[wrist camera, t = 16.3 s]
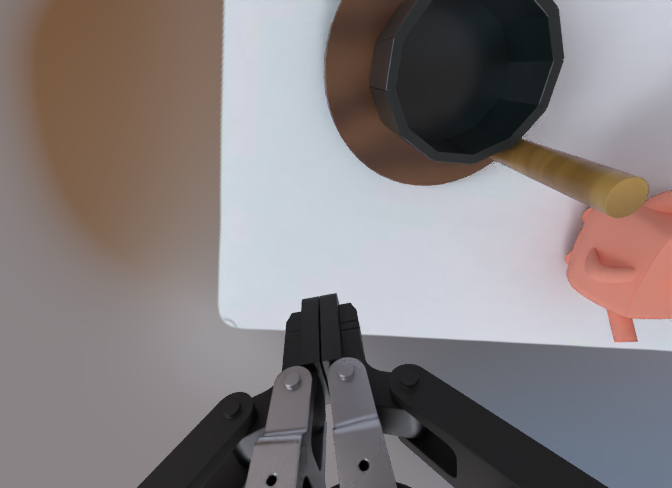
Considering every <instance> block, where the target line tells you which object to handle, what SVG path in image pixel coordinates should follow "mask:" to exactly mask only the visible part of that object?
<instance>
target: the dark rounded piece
mask: <svg viewBox="0 0 672 488" xmlns="http://www.w3.org/2000/svg"><path fill="white" fill-rule="evenodd" d="M557 7H558V6H557V5H556V4H555V3H554V2H553V0H342V1H341V3H340V5H339V7H338V9H337V11H336V14H335V16H334V19H333V22H332V24H331V27H330V31H329V35H328V39H327V43H326V50H325V58H324V84H325V93H326V98H327V102H328V107H329V110H330V113H331V116H332V119H333V121H334V124H335V126H336V128H337V130H338V132H339V134H340V135H341V137H342V139H343V140H344V142H345V143H346V145H347V146H348V147H349V149H350V150H351V151H352V152H353V153H354V155H355V156H356V157H357V158H358V159H359V160H360V161H361V162H363V163H364V164H365V165H366V166H367V167H368V168H370V169H371V170H373V171H375V172H376V173H378V174H379V175H381V176H384V177H386V178H388V179H390V180H393V181H397V182H400V183H404V184H410V185H421V186H430V185H439V184H445V183H449V182H453V181H456V180H459V179H462V178H464V177H467V176H469V175H471V174H473V173H475V172H477V171H479V170H481V169H482V168H484V167H485V166H487V165H489V164H490V163H492V162H493V161H494V160H495V161H497V162H499V163H501V164H503V165H505V166H507V167H509V168H511V169H513V170H515V171H517V172H519V173H521V174H524V175H526V176H528V177H530V178H532V179H534V180H536V181H538V182H540V183H542V184H544V185H546V186H548V187H550V188H552V189H554V190H557V191H559V192H561V193H563V194H565V195H567V196H569V197H571V198H573V199H575V200H577V201H579V202H581V203H583V204H585V205H588V206H590V207H592V208H594V209H596V210H598V211H600V212H602V213H604V214H606V215H608V216H610V217H613V218H624V217H627V216H629V215H631V214H633V213H634V212H636V211H637V210H638V209H639V208H640V207H641V206H642V205H643V203H644V202H645V200H646V198H647V196H648V192H649V187H648V184H647V182H646V181H645V180H644V179H643V178H641V177H638V176H635V175H632V174H629V173H626V172H623V171H620V170H616V169H613V168H610V167H607V166H604V165H601V164H598V163H595V162H592V161H589V160H586V159H583V158H580V157H577V156H574V155H570V154H567V153H564V152H561V151H558V150H555V149H552V148H549V147H546V146H543V145H540V144H537V143H534V142H531V141H528V140H524V139H521V138H522V136H523V135H524V134H525V133H526V132H527V131H528V130H529V129H530V128H531V126H532V125H533V124H534V123H535V122H536V121H537V120H538V119H539V117H540V116H541V115H542V114H543V113H544V112H545V111H546V108H547V107H548V104H549V101H550V98H551V95H552V93H553V90H554V87H555V84H556V81H557V78H558V75H559V73H560V70H561V67H562V64H563V59H564V52H563V43H562V34H561V25H560V16H559V9H558V8H557Z"/></svg>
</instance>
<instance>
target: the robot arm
mask: <svg viewBox="0 0 672 488" xmlns="http://www.w3.org/2000/svg"><path fill="white" fill-rule="evenodd" d="M326 404H331V407H332V415H333V423H334V428H333V438H334V446H335V453H336V461H337V469H338V476H339V484H338V485H335V486H333V487H331V488H411V487H409V486H407V485H404V484H401V483H397V482H396V481H395V477H394V474H393V470H392V466H391V462H390V458H389V454H388V450H387V447H386V443H385V439H384V435H383V433H384V434H390V435H395V436H398V437H399V439H400V440H401V442H403V443H404V444H405V445H406V446H407V447H408V448H409V449H410V450H412V451H413V452H414V453H415V454H416V455H417V456H419V457H420V458H421V459H422V460H423V461H424V462H426V463H427V464H428V465H429V466H430V467H431V468H432V469H433V470H435V471H436V472H437V473H438V474H439V475H440V476H442V477H443V478H444V479H445V480H446V481H447V482H448V483H450V484H451V485H452V486H453V487H454V488H608V487H607V486H605V485H603V484H602V483H600V482H599V481H597V480H596V479H594V478H593V477H591V476H590V475H588V474H586V473H585V472H583V471H582V470H580V469H578V468H577V467H576V466H574V465H572V464H571V463H569V462H567V461H566V460H565V459H563V458H562V457H560V456H558V455H557V454H555V453H554V452H552V451H551V450H549V449H548V448H546V447H544V446H543V445H541V444H539V443H538V442H537V441H535V440H533V439H532V438H530V437H529V436H527V435H526V434H524V433H523V432H521V431H520V430H518V429H517V428H515V427H513V426H512V425H510V424H509V423H507V422H506V421H504V420H502V419H501V418H499V417H498V416H496V415H494V414H493V413H492V412H490V411H489V410H487V409H485V408H484V407H482V406H481V405H479V404H477V403H476V402H475V401H473V400H471V399H470V398H468V397H467V396H465V395H464V394H462V393H461V392H459V391H457V390H456V389H454V388H452V387H451V386H450V385H448V384H447V383H445V382H443V381H442V380H440V379H439V378H437V377H435V376H434V375H433V374H431V373H429V372H428V371H426V370H425V369H423V368H421V367H420V366H417V365H414V364H404V365H401V366H398V367H396V368H395V369H394V370H393V371H392V372H384V371H379V370H376V369H374V368H372V367H371V366H370V365H368V364H367V362H366V360H365V354H364V348H363V342H362V336H361V331H360V326H359V321H358V316H357V311H356V309H355V308H354V307H353V306H352V304H351V303H346V304H341V305H339V301H338V297H337V293H334V294H329V295H323V296H320V298H319V296H318V297H313V298H307V299H302V309H301V312H297V313H292V314H291V316H290V317H289V319H288V321H287V323H286V334H285V344H284V356H283V366H282V372H281V373H280V374H279V375H278V376H277V378H276V380H275V382H274V386H272V387H271V388H270V389H269V390H267V391H265V392H263V393H261V394H259V395H257V396H254V397H253V398H251V397H250V395H248V394H247V393H244V392H236V393H232V394H230V395H228V396H226V397H225V398H224V399H223V400H221V401H220V402H219V403H218V404H217V405H216V406H215V408H214V409H213V410H212V411H211V412H210V413H209V414H208V415H207V416H206V417H205V418H204V419H203V420H202V421H201V422H200V423H199V424H198V425H197V426H196V427H195V428H194V429H193V430H192V431H191V432H190V434H188V435H187V436H186V437H185V438H184V440H183V441H182V442H181V443H180V444H179V445H178V446H177V447H176V448H175V449H174V450H173V451H172V452H171V453H170V454H169V455H168V456H167V457H166V458H165V459H164V460H163V462H161V463H160V464H159V465H158V466H157V467H156V468H155V470H154V471H153V472H152V473H151V474H150V475H149V476H148V477H147V478H146V479H145V480H144V481H143V482H142V483H141V484H140V485H139V486H138V487H137V488H326V485H325V456H326V453H325V452H326V430H327V423H326V419H325V417H326V413H325V405H326Z"/></svg>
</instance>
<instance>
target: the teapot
mask: <svg viewBox="0 0 672 488" xmlns="http://www.w3.org/2000/svg"><path fill="white" fill-rule="evenodd" d="M582 221H583V222H584V225H583V227H582V229H581V231H580V233H579V235H578V237H577V239H576V242H575V244H574V247H573V250H572V251H570V252H569V253H568V254H567V256H566V258H565V261H566V263H567V264H568V267H567V274H566V275H567V278H568V281H569V283H570V284H571V286H572V287H573V288H574V289H575V290H576V291H577V292H579V293H580V294H581V295H583V296H584V297H586V298H587V299H589V300H591V301H592V302H594V303H596V304H598V305H600V306H602V307H604V308H606V309H607V313H608V317H609V322H610V326H611V330H612V334H613V338H614V342H638V340H637V336H636V332H635V328H634V324H633V320H632V319H672V191H667V192H663V193H660V194H658V195H655V196H653V197H652V198H650V199H649V200H645V202H644V203H643V205H642V206H641V207H640V208H639V209H638V210H637V211H636V212H634V213H633V214H631V215H629V216H627V217H624V218H613V217H610V216H608V215H606V214H604V213H602V212H600V211H598V210H596V209H594V208H592V207H590V208H588V209H587V210H586V211H585V212H584V214H583V216H582Z"/></svg>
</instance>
